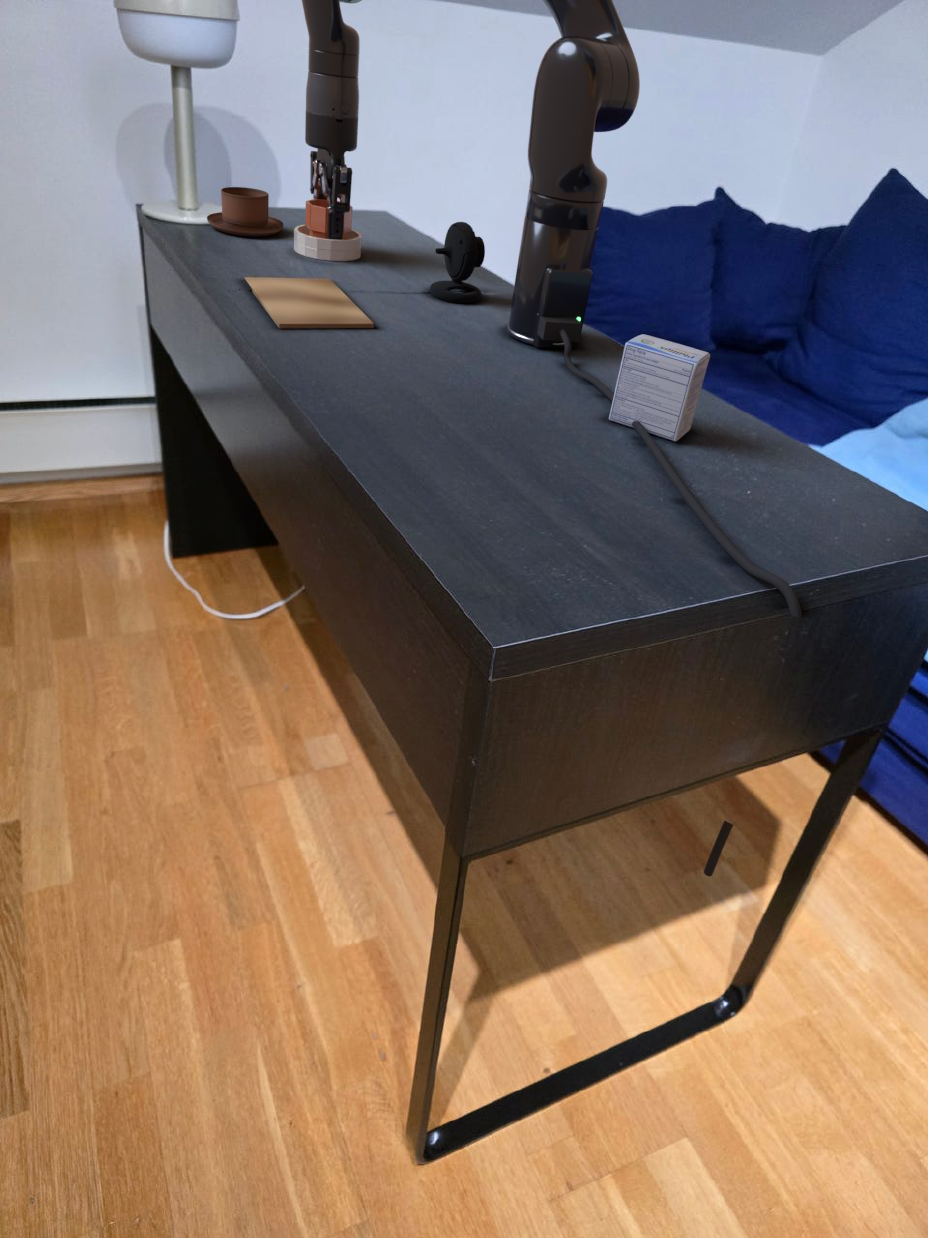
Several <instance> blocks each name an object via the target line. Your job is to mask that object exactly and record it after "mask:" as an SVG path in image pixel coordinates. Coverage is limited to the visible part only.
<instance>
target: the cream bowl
mask: <svg viewBox="0 0 928 1238" xmlns="http://www.w3.org/2000/svg"><path fill="white" fill-rule="evenodd" d="M309 231H310V229H308V228H307V227H306V226H305V224H301V225H300V224H299V225H297V226H295V228H293V251H294V252H295V253H296V254H298V255H301V256H303V257H306V258H311V259H314V260H318V261H319V260H321V261H327V262H349V261H355V260H358V259H360V258H361V256H362V241H363V235H362V234H361V232H359V231H357V230H354V229H352V231H351V232H348V233H347V240H334V239H324V238H317V237H313V236H309Z"/></svg>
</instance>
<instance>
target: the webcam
mask: <svg viewBox="0 0 928 1238" xmlns="http://www.w3.org/2000/svg"><path fill="white" fill-rule="evenodd" d="M435 254H436V255H443V261H444V266H445V269H446V272H447V274H448V276H449V277H450V279H451V280H437V281H434V282H432V283H431V285H430V286H429V293H430V294H431V296H433V297H435V298H437V299H440V300H442V301H445V302H449V303H457V304H471V303H476V302H478V301H479V300H480V299H481V298H482V292H481V289H480V288H478V287H477V286H476V285H473V284H471V283H469V282H465V281H467V280H468V279H469V278H470V277H471V276H472V274H473V273H474V270H475V268H480V267H481V266H483V263H484V261H485V257H486V256H485V255H486V246H485V242H484V239H483V238H482V236H477V235H476V233H475V231H474V229H473V227H472V226H471V225H470V224H469V223H467V222H464V221H455V222H454V223H452V224H451V225H450V226H449V227H448V229H447V231H446V235H445V239H444V245H443V247H439V248H438V247H436V248H435ZM453 290H459V291H453Z"/></svg>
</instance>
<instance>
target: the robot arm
mask: <svg viewBox="0 0 928 1238" xmlns="http://www.w3.org/2000/svg"><path fill="white" fill-rule="evenodd" d="M362 1H363V0H301V3H302V4H301V5H302V8H303V15H304V21H305V24H306V28H307V33H308V61H307V62H308V71H307V79H306V87H305V123H304V124H305V125H304V127H305V129H304V130H305V133H304V140H305V144H306V145H307V146H309V147H311V148H314V149H317V150H311V151H310V154H309V157H310V162H309V163H310V166H309V167H310V174H309V175H310V177H309V179H310V183H309V184H310V185H309V186H310V187H309V191H310V195H312V199H326V200H327V204H328V212H329V213H328V233H327V236H328V238H329V239H334V240H342V238H343V219H344V214H345V213H346V212H349V211H350V205H351V197H352V182H353V181H352V180H353V169H352V167H347V164H346V157H345V153H347V152H354V151H356V149H357V148H358V133H359V132H358V131H359V114H360V113H359V112H360V111H359V110H360V87H359V86H360V85H359V76H360V75H359V73H360V71H359V70H360V53H361V52H360V50H361V49H360V48H361V43H360V42H361V40H360V35H359V33H358V31H357V30H356V29H355V28H354V27H352V26H351V25H349V24H346V23H345V22H344V18H343V15H342V14H343V13H342V9H341V3H343V4H358V3H361V2H362ZM542 2H543V3H544V4H545V6H546V8H547V9H548V10H549V12H550V14H551V16H552V18H553V20H554V22H555V24H556V26H557V29H558V31H559V34H560V36H561V37H560V38H558V39H556V40H555V41H554V42H553V43H551V45H550V46H548V48H547V49H546V51H545V53H544V55H543V56H542V59H541V60H540V63H539V67H538V69H537V72H536V76H535V77H536V78H535V82H534V88H533V95H532V104H531V114H530V125H529V133H528V143H527V163H528V164H527V165H528V169H529V176H530V177H529V186H528V193H527V200H526V207H525V213H524V219H523V225H522V233H521V239H520V244H519V245H520V246H519V252H518V259H517V266H516V273H515V278H514V284H513V285H514V286H513V293H512V299H511V306H510V313H509V320H508V324H507V328H506V332H507V334H508V335H509V336H510V337H512V338H514V339H516V340H517V341H520V342H523V343H526V344H529V345H533V346H534V347H535V348H539V349H544V348H545V349H548V348H549V349H550V348H554V349H555V348H558V349H559V348H564V353H563V360H564V364H565V366H566V368H567V369H568V370H570V372H572V373H573V374H575V375H576V376H577V377H578V378H580V379H582V380H584V381H586V382H587V383H589V384H591V385H593V386H594V387H595V388H596V389H598V391H600V392H601V394H603V395H604V396H605V397H606V398H607V399H608V400H609V401H610V402H611V403H612V402H613V398H614V393H615V392H613V391H612V390H611V389H610V388H609V387H608V386H607V385H605V384H604V383H603V382H602V381H601V380H600V379H599V378H597V377H595V375H591V374H590V373H587V372H585V371H582V370H580V369H579V368H577V367H576V365H574V363H573V361H572V357H571V356H572V348H579V347H580V341H581V336H582V333H583V332H582V331H583V326H584V322H585V315H586V312H587V306H588V301H589V295H590V291H591V287H592V286H591V285H592V280H593V275H594V273H593V271H592V264H593V259H594V254H595V248H596V244H597V238H598V233H599V227H600V225H601V224H600V223H601V219H602V213H603V208H604V203H605V198H606V195H607V194H606V192H607V187H608V176H607V173H605V172H604V171H603V170H602V169H600V168H599V167H598V166H597V165H596V163H595V161H594V158H593V145H594V144H593V142H594V135H595V133H607V132H613V131H616V130H618V129H620V128H622V127H623V126H625V125H626V124H627V123H628V122H629V121H630V119H631V118H632V116H633V115H634V113H635V110H636V108H637V106H638V105H637V104H638V101H639V98H640V97H639V96H640V87H641V85H640V84H641V83H640V82H641V81H640V80H641V79H640V71H639V66H638V62H637V58H636V56H635V53H634V51H633V48H632V45H631V43H630V40H629V37H628V36H627V32H626V31H625V28H624V25H623V23H622V21H621V18H620V16H619V14H618V11H617V8H616V7H615V6H616V5H615V3H614V0H542ZM338 199H339V201H340V202H337V201H338ZM632 426H633V427H634V428H633V429H634V430H635V431H636V433H637V434H638V435H639V437H640V438H641V440H643V442H644V443H645V445H646V446H647V447H648V450H650V452H651V453H652V455H653V456H654V458H655V460H656V461H657V462H658V464H659V466H660V467H661V468H662V470H663V471H664V474H665V475H666V476H667V477H668V479H669V480H670V482H671V483H672V484H673V486H674V487H675V489H676V490H677V492H678V493H679V494H680V496H681V498H682V499H683V500H684V502H685V503H686V504H687V506H688V507H689V508H690V510H691V511H692V512H693V514H694V515H695V517H696V518H697V519H698V520H699V521H700V523H701V524H702V525H703V526H704V528H705V529H706V530H707V531H708V532H709V534H710V535H711V536H712V537H713V539H714V540H715V541H716V542H717V544H718V545H719V546H720V547H721V549H723V550H724V552H725V553H726V554H727V555H728V556H729V557H730V558H731V559H732V560H733V561H734V562H735V563H736V564H737V565H738V566H739V567H740V568H741V569H742V570H743V571H745V572H746V573H747V574H749V575H750V576H751V577H754V578H756V579H758V580H760V581H761V582H764V583H765V584H766V583H767V584H769V585H770V586H772V587H773V588H775V589H776V590H777V591H779V592H780V593H781V595H782V596H783V597H784V598H785V601H786V603H787V607H788V609H789V610H788V611H789V614H790V615H791V616H793V617H795V618H798V619H801V618H802V617H803V613H802V608H801V605H800V602H799V598H798V596H797V594H796V592H795V591H794V589H793V588H792V586H791V585H790V584H789V583H788V582H787V581H786V580H785V579H783V578H781V577H780V576H779V575H776V574H774V573H773V572H770V571H768V570H765V569H763V568H762V567H759V566H758V565H756V564H755V563H753V562H752V561H751V560H750V559H749V558H748V557H746V555H744V554H743V553H742V552H741V551H740V550H739V549H738V548H737V547H736V546H735V545H734V543H732V541H731V540H730V539H729V538H728V537H727V536H726V535H725V533H724V532H723V531H722V530H721V529H720V528H719V527H718V525H717V524H716V523H715V522H714V521H713V519H712V518H711V516H709V515H708V513H707V512H706V511H705V509H704V508H703V507H702V506H701V505H700V504H699V502H698V501H697V500H696V498H695V497H694V496H693V494H692V493H691V492H690V490H689V488H688V487H687V486H686V485H685V483H684V482H683V481H682V479H681V477H680V476H679V475H678V474H677V472H676V471H675V469H674V467H673V466H672V465H671V463H670V462H669V461H668V459H667V458H666V456H665V455H664V453H663V452H662V450H661V449H660V447H659V446H658V445H657V443H656V441H654V439H653V437H652V436H651V435H650V433H648V432H647V431H646V430H645V428H644V427H643V426H642V424H641V423H640V422H638V421H633V422H632ZM733 827H734V824H733V823H731V822H728V821H727V820H724V821H723V823H722V825H721V827H720V830H719V831H718V834H717V837H716V839H715V841H714V844H713V846H712V849H711V851H710V854H709V856H708V858H707V862H706V864H705V866H704V869H703V874H704V876H706V877H712V876H713V875H714V872H715V870H716V867H717V864H718V862H719V859H720V857H721V854H722V852H723V850H724V848H725V846H726V842H727V841H728V838H729V836H730V834H731V831H732V829H733Z"/></svg>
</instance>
